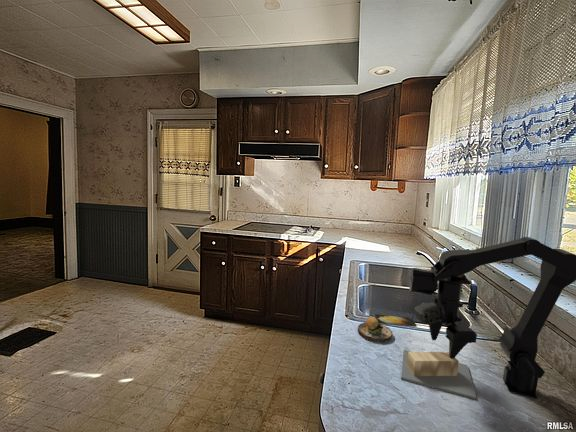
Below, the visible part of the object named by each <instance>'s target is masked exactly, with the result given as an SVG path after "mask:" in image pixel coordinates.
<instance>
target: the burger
mask: <svg viewBox="0 0 576 432" xmlns="http://www.w3.org/2000/svg"><path fill="white" fill-rule="evenodd" d="M368 317H369V318H367V319H366V321H365V322H362V323H360V324H359V325H358V327H357V333H358V335H359V336H360V337H361V338H362V339H364V340H365V341H366V340H367V341H369V342H373V343H387V342H388V341H389V339H390V338H392V336H393V332H392V329H390V327H388V326H386V325H385V324H379V323H378V321H377V319H376V318H374V317H370V316H368Z"/></svg>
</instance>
